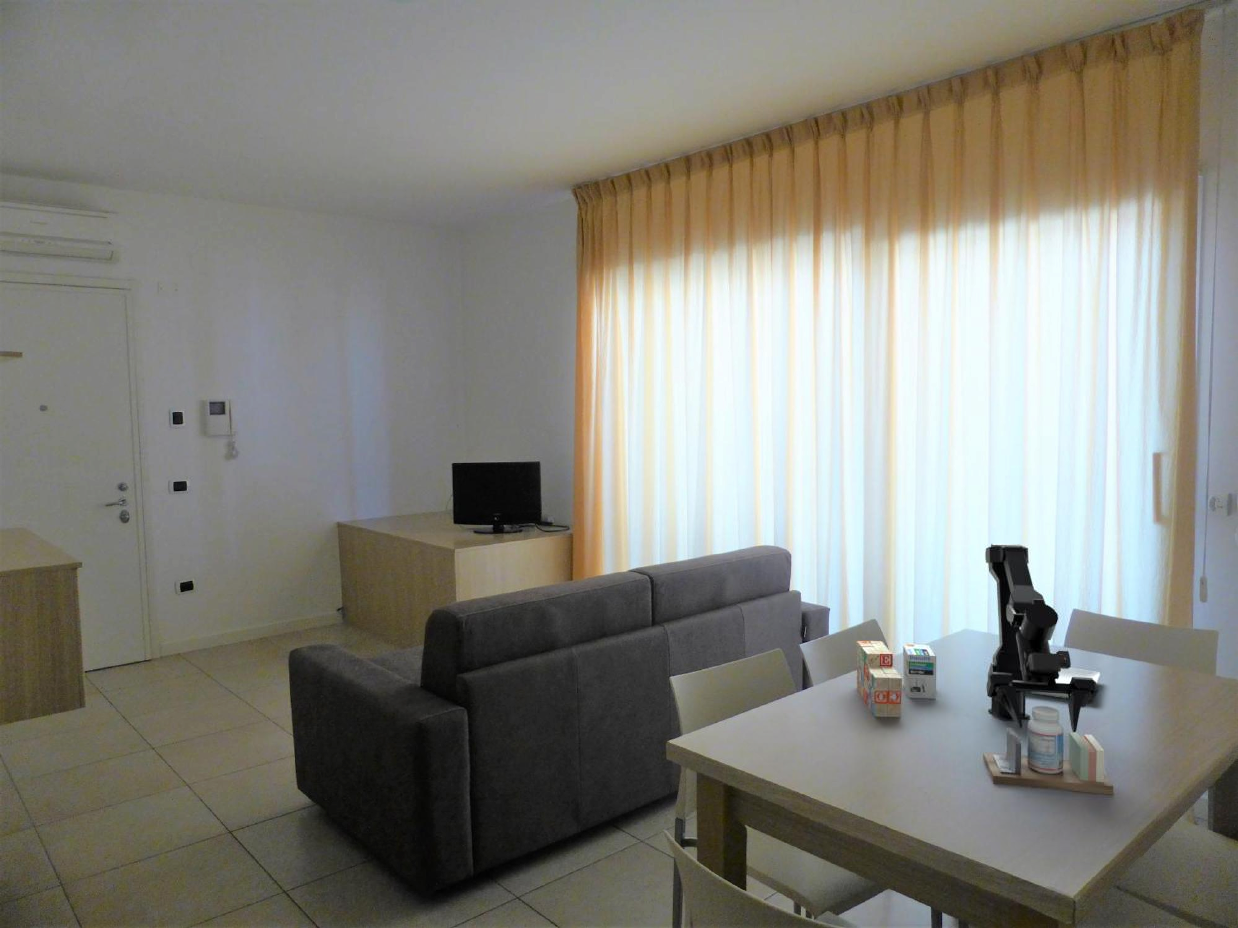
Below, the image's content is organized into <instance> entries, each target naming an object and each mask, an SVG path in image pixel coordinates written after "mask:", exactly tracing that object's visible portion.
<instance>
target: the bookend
mask: <svg viewBox="0 0 1238 928" xmlns="http://www.w3.org/2000/svg"><path fill="white" fill-rule="evenodd" d="M1006 755H1007V756H998V755H993V758H994V760H995V762H996V764H997V767H998V769H999V771H1000V773H1005V774H1016V775H1021V756H1022V741H1021V740H1020V738H1019V737H1018V735H1017V733H1016V731H1015V730H1014V728H1013V727H1007V728H1006Z"/></svg>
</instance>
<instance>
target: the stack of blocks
mask: <svg viewBox="0 0 1238 928" xmlns="http://www.w3.org/2000/svg"><path fill="white" fill-rule="evenodd" d="M893 655H894V654H893V653H892V652H891V650H890V649H888V647H887V646H886V645H885V643H884V642H883V641H880V640H856V665H857V666H856V667H857V668H856V670H857V671H856V673H857V676H856V688H857V690H858V689H859V690H858V692H859V694H860V696H861V697H863V698H862V699H863V700H864V701H865V703H866V705H867V706H868V709H869V710H870V712H871V714H872V715H873V717H881V718H882V717H883V718H884V717H887V718H888V717H889V718H902V691H903V677H902V675H900V674H899V672H898V670H896V669H895V668H894V666H893V665H894V664H893V663H894V660H893V659H894V658H893Z"/></svg>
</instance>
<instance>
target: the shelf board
mask: <svg viewBox="0 0 1238 928" xmlns="http://www.w3.org/2000/svg"><path fill="white" fill-rule="evenodd" d="M982 755H983V756H982V758H983V759H982V761H983V763H984V766H985V768H986V770H987V773H988V775H989V777H990V779H991V781H992V784H993V785H1005V786H1016V787H1026V788H1039V789H1049V788H1050V790H1059V791H1069V790H1070V791H1071V790H1073V791H1071V792H1081V793H1091V792H1092V794H1093V793H1094V794H1102V793H1103V795H1104V794H1105V795H1114V785H1113V783H1111V781H1110V780H1109V778H1108V777H1107V776H1106V775H1105V774H1104V782H1096V781H1084V780H1080V779H1079V777H1078V776H1077V775H1076V773H1075V772H1074V770H1073V769H1072V767H1071V766H1070V764H1069V759H1063V770H1062V771H1061V772H1060V773H1056V774H1046V773H1041V772H1038V771H1036V770H1033V769H1031V768H1030V767H1029V766H1028V764H1027V756H1026V755H1025V756H1024V755H1023V756H1022V755H1021V775H1016V774H1005V773H1000V771H999V769H998V767H997V764H996V762H995V760H994V758H993V755H998V756H1007V754H1000V753H988V752H983V753H982ZM1070 791H1069V792H1070Z"/></svg>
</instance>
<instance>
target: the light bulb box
mask: <svg viewBox="0 0 1238 928" xmlns="http://www.w3.org/2000/svg"><path fill="white" fill-rule="evenodd" d="M902 646H903V647H902V649H903V650H902V651H903V652H902V653H903V654H902V655H903V657H902V658H903V662H902V663H903V665H902V666H903V667H902V668H903V669H902V671H903V672H902V674H903V677H902V686H903V688H904V690H905V692H906V695H907V697H908V698H912V699H913V698H915V699H916V698H917V699H931V700H936V699H937V654H935V652H934V651H933V649H932V647H931V645H929V644H928V645H927V644H912V643H903V644H902Z"/></svg>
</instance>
